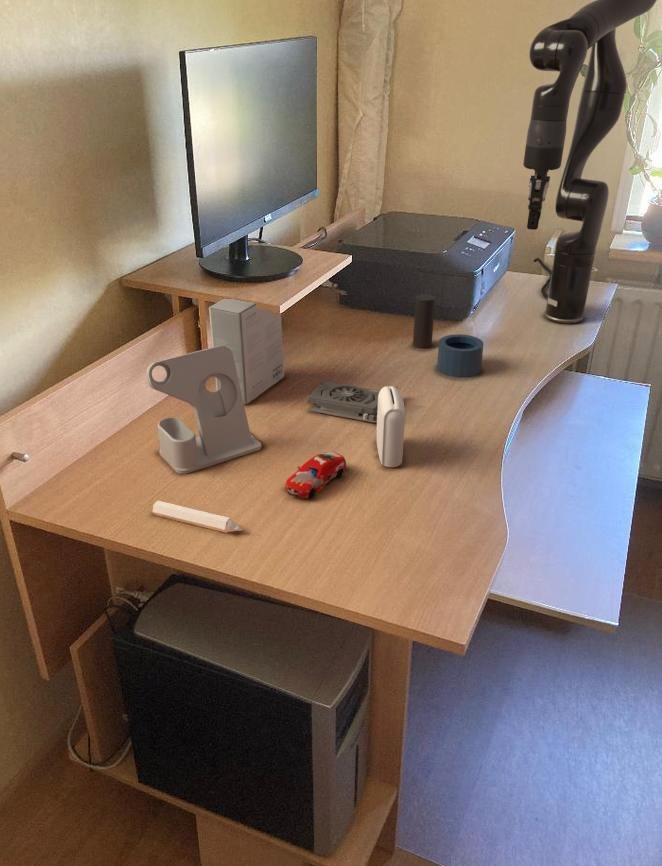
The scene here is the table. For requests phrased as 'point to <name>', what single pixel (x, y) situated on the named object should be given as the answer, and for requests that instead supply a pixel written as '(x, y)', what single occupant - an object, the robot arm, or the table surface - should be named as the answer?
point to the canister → (423, 321)
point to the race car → (315, 475)
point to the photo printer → (390, 426)
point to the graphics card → (345, 401)
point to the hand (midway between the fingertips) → (533, 224)
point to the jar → (460, 355)
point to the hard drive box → (249, 344)
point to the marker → (194, 517)
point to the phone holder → (203, 411)
